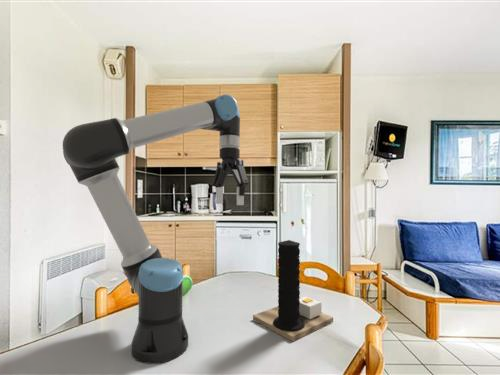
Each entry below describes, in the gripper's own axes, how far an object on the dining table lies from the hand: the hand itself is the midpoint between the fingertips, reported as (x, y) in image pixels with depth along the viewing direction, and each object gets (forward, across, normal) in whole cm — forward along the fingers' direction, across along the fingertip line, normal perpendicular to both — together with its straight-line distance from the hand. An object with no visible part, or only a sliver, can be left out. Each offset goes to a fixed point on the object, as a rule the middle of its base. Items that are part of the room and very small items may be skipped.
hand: (229, 204), depth 105 cm
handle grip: (+37, -25, -6) cm, 45 cm away
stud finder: (+37, -24, -16) cm, 47 cm away
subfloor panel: (+39, -22, -11) cm, 46 cm away
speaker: (+39, +22, +11) cm, 46 cm away
